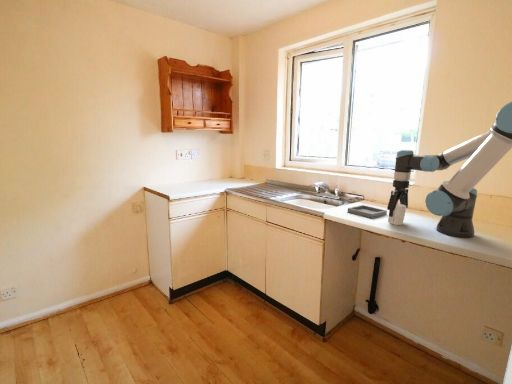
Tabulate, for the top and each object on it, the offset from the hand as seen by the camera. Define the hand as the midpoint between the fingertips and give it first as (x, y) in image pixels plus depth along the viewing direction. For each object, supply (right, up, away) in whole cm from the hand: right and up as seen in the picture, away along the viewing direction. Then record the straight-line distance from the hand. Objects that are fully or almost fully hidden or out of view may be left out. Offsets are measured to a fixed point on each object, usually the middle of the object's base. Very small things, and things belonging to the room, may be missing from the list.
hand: (396, 220), depth 148 cm
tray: (-8, +3, +19) cm, 21 cm away
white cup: (0, -2, 0) cm, 2 cm away
